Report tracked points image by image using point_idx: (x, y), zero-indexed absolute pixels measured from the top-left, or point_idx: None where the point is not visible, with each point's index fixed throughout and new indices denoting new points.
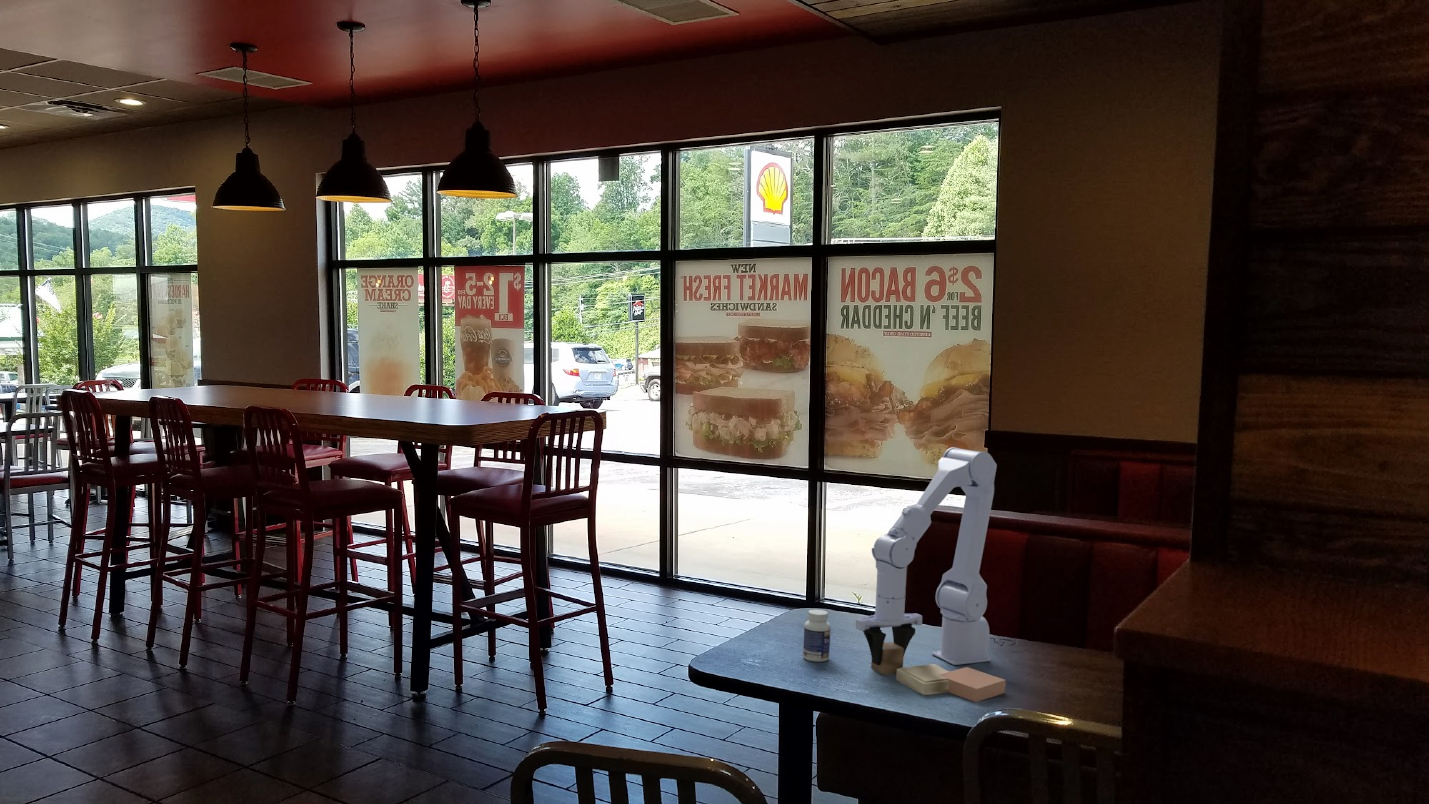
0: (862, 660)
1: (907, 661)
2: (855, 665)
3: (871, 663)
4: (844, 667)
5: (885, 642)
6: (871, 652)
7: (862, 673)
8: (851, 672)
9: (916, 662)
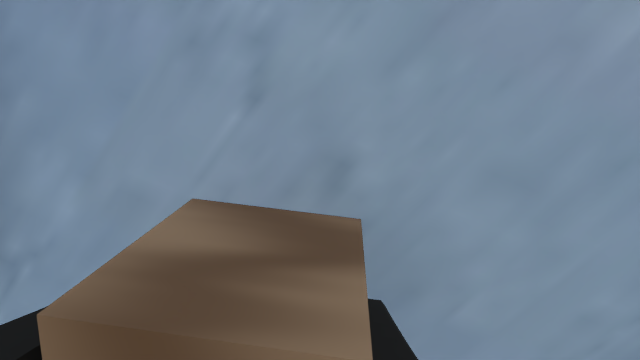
0: (234, 8)
1: (581, 192)
2: (109, 98)
3: (176, 212)
4: (4, 103)
5: (260, 355)
6: None
7: (74, 259)
8: (10, 213)
9: (628, 241)
